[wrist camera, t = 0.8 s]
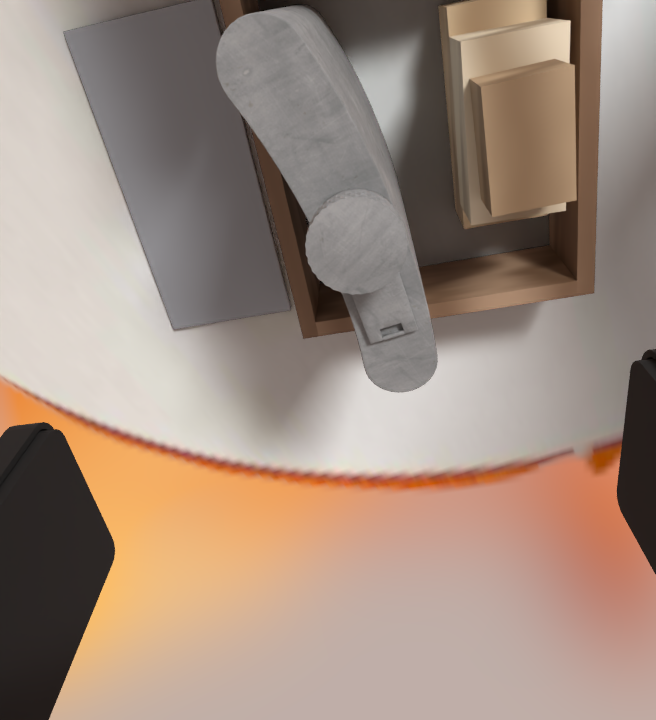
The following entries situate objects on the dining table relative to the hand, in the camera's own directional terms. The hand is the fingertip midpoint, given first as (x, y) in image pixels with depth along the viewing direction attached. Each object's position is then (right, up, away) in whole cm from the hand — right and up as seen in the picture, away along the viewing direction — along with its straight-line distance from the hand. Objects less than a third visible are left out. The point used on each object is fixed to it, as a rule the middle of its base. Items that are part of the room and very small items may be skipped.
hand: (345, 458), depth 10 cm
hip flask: (+1, +16, +28) cm, 32 cm away
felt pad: (-9, +13, +30) cm, 34 cm away
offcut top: (+9, +13, +20) cm, 26 cm away
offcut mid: (+9, +15, +24) cm, 30 cm away
